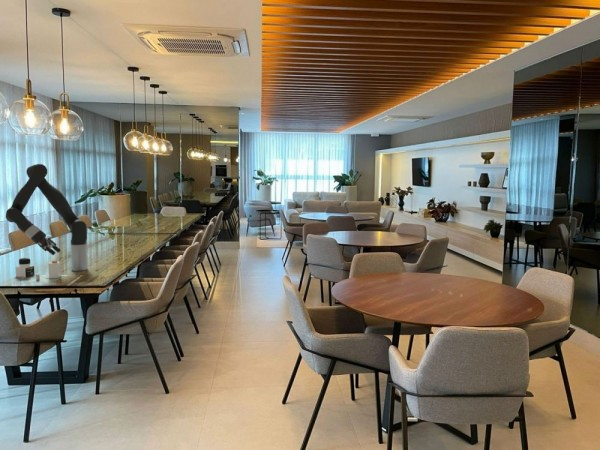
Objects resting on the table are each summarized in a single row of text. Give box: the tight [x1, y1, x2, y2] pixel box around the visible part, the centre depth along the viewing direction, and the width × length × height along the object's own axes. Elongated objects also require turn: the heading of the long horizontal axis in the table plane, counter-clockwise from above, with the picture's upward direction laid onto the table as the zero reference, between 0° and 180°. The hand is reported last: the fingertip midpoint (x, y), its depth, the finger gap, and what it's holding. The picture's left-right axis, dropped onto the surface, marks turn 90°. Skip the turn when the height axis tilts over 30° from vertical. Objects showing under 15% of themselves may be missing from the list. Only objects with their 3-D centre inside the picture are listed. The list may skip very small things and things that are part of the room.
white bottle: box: [47, 259, 62, 278], centre depth 280 cm, size 5×5×10 cm
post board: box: [26, 273, 69, 283], centre depth 278 cm, size 19×15×5 cm
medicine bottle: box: [15, 257, 36, 278], centre depth 283 cm, size 7×7×12 cm
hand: (57, 252), depth 279 cm, fingers open, 8 cm apart
